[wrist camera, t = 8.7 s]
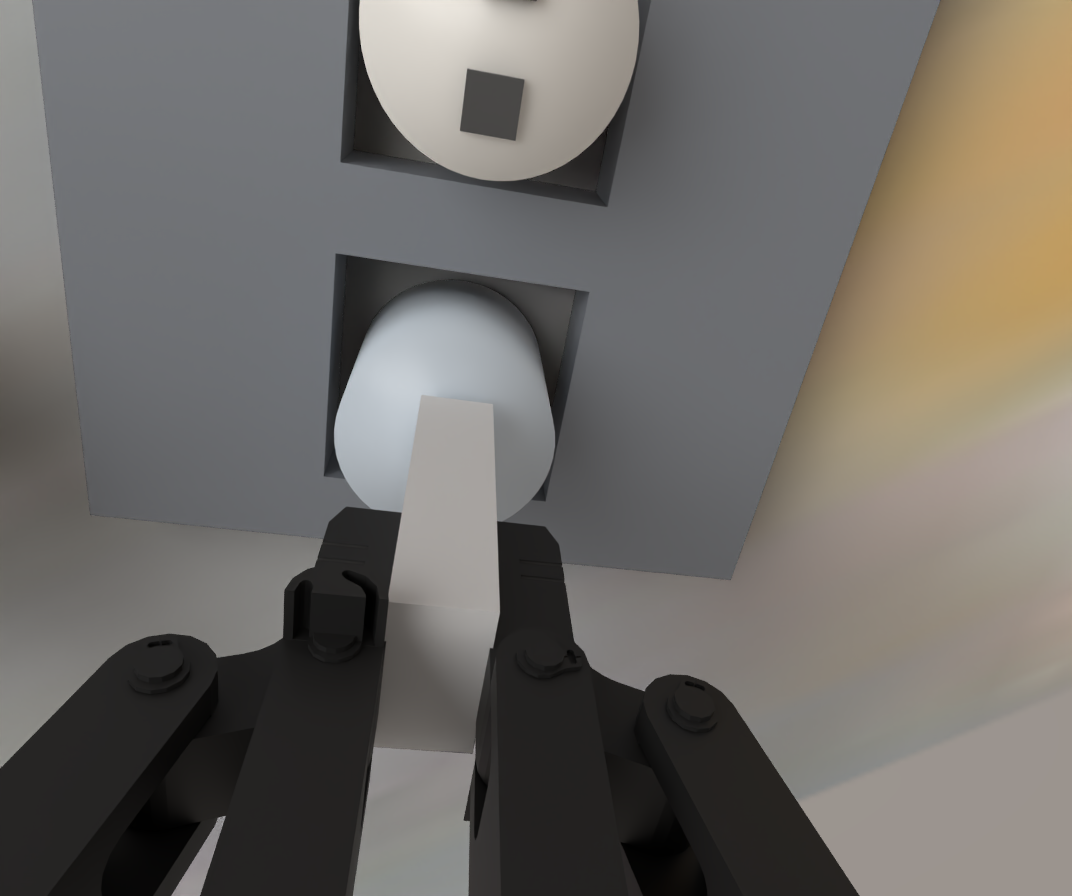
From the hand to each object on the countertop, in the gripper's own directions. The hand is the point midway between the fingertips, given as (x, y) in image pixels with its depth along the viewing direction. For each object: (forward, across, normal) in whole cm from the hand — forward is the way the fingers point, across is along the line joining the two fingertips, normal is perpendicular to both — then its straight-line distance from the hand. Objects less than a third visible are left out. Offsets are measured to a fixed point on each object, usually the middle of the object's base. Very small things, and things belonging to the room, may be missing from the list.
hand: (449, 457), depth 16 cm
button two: (+5, 0, +8) cm, 9 cm away
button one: (+5, 0, 0) cm, 5 cm away
